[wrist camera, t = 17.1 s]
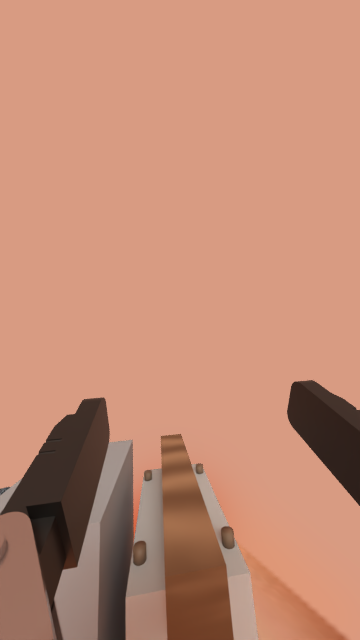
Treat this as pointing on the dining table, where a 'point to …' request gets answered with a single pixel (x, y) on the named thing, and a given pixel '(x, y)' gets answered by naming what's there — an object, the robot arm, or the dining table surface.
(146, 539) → the stand
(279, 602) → the dining table surface
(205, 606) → the batten
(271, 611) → the dining table surface
